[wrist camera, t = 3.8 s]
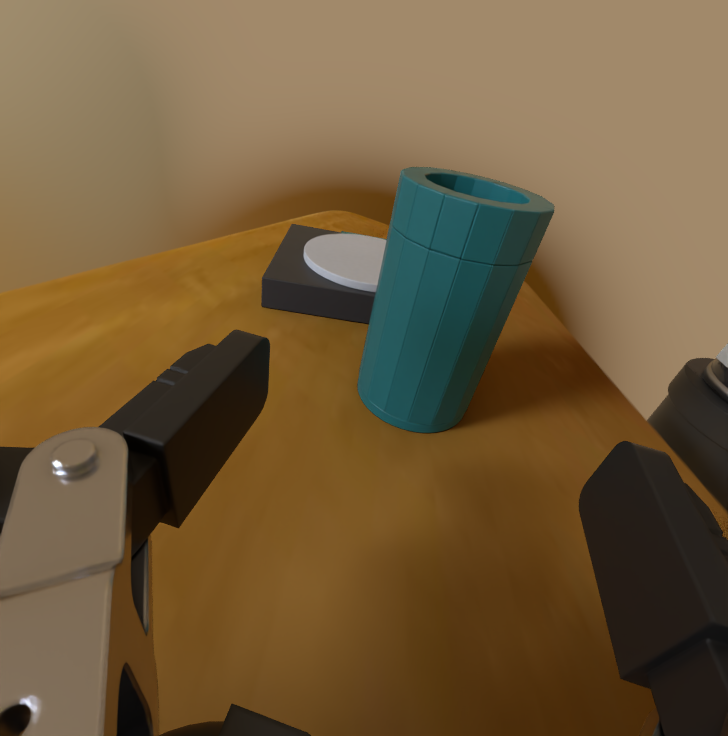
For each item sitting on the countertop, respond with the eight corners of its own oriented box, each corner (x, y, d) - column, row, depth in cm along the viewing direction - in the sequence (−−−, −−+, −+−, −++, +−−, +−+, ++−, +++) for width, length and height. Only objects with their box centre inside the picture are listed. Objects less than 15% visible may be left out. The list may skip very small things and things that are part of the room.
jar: (454, 368, 25) (525, 184, 19) (475, 440, 20) (582, 222, 14) (358, 354, 25) (397, 159, 18) (355, 424, 20) (407, 189, 13)
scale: (435, 272, 38) (444, 244, 36) (457, 338, 28) (470, 303, 27) (290, 247, 37) (292, 216, 35) (261, 307, 27) (262, 268, 25)
